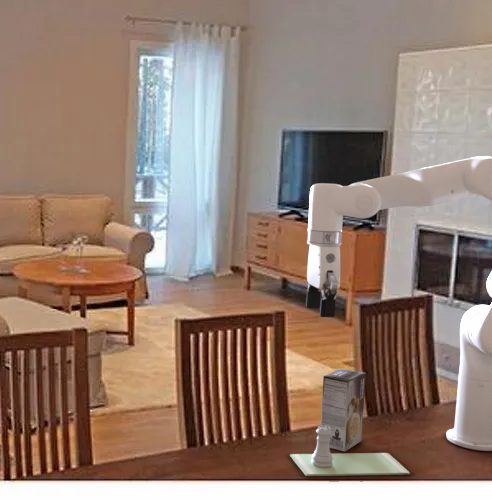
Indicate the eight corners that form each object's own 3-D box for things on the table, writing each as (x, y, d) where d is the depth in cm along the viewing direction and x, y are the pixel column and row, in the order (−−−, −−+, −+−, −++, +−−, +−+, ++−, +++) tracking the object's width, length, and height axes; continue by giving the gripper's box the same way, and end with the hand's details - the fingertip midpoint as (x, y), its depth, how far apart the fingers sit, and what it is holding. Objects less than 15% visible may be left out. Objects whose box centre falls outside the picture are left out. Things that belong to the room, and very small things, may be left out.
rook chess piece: (308, 460, 177) (310, 423, 176) (328, 460, 177) (331, 423, 176) (314, 468, 172) (316, 431, 171) (335, 468, 173) (338, 431, 172)
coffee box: (335, 434, 194) (340, 367, 192) (362, 441, 191) (367, 372, 188) (318, 445, 187) (322, 375, 185) (345, 452, 183) (350, 381, 181)
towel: (387, 454, 183) (388, 452, 183) (409, 474, 172) (410, 472, 172) (289, 455, 180) (289, 454, 180) (305, 476, 169) (306, 474, 169)
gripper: (354, 243, 182) (349, 320, 185) (327, 234, 199) (323, 305, 202) (321, 242, 181) (316, 320, 184) (296, 233, 198) (292, 304, 201)
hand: (319, 312), depth 193 cm, fingers open, 9 cm apart
